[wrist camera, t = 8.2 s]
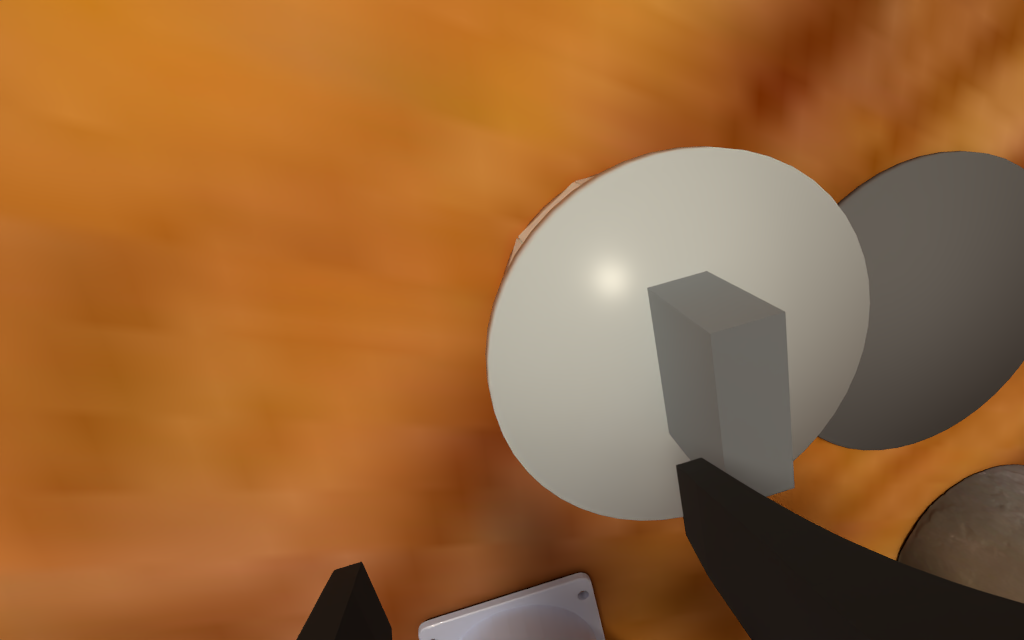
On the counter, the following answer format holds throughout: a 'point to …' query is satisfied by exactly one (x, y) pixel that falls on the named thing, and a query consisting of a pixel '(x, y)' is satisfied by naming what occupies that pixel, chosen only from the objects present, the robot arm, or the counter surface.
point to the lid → (676, 329)
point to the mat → (934, 296)
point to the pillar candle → (975, 534)
